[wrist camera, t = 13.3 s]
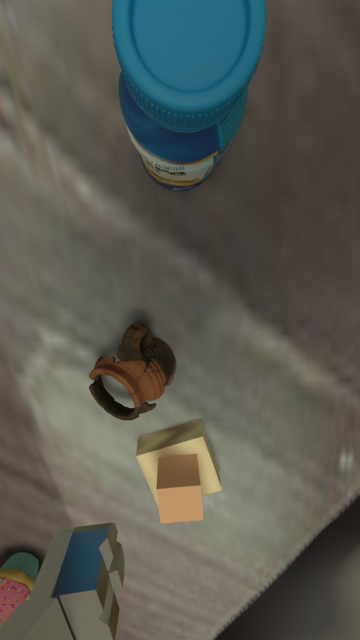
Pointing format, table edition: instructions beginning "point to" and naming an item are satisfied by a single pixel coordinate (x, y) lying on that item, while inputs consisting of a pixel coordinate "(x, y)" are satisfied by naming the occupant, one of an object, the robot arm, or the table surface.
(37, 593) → the robot arm
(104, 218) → the table surface
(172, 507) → the terracotta cube
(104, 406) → the brown rounded piece
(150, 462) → the beech block
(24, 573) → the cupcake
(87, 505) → the table surface
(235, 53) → the vitamin bottle
